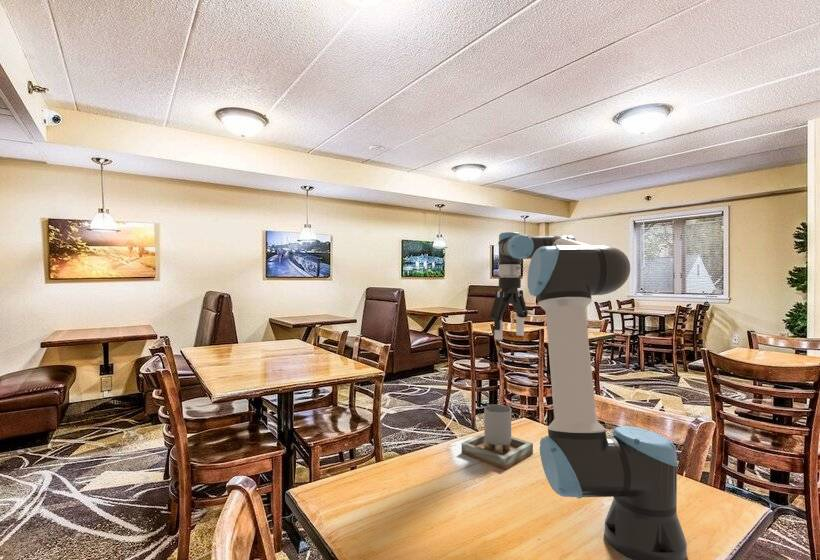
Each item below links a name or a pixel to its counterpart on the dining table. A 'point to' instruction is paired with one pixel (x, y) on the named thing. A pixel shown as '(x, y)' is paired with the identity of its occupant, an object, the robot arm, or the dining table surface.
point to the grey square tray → (497, 451)
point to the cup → (497, 424)
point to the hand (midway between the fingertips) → (509, 337)
